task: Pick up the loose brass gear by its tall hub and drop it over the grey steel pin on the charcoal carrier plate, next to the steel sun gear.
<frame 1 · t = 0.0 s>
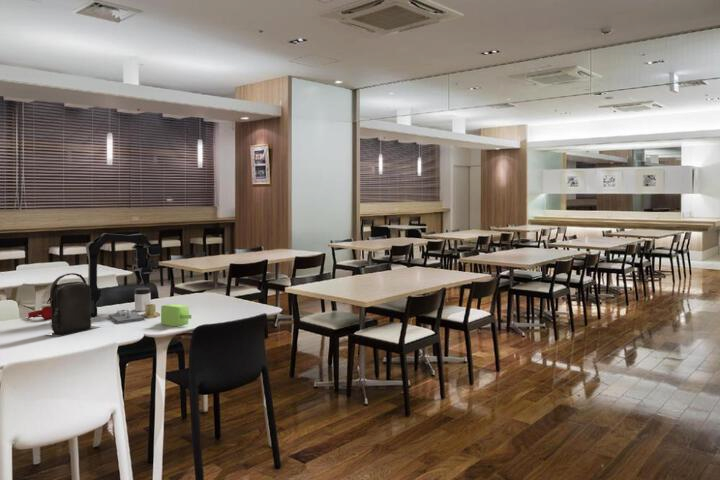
hand: (142, 283, 323), 15 cm above the table, fingers open, 9 cm apart
gearbox: (177, 324, 289), on the table
jar: (143, 310, 324), on the table
shoulder bag: (73, 331, 275), on the table
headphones: (47, 317, 308), on the table
carrier plate: (126, 318, 301), on the table
brass gear: (150, 316, 307), on the table
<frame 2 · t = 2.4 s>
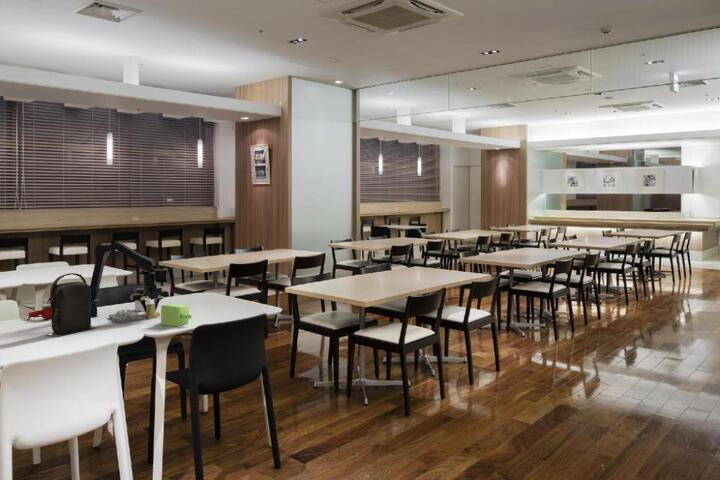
hand: (150, 311, 307), 3 cm above the table, fingers closed on brass gear, 5 cm apart
brass gear: (150, 316, 307), on the table, touching gripper
everything else where it was.
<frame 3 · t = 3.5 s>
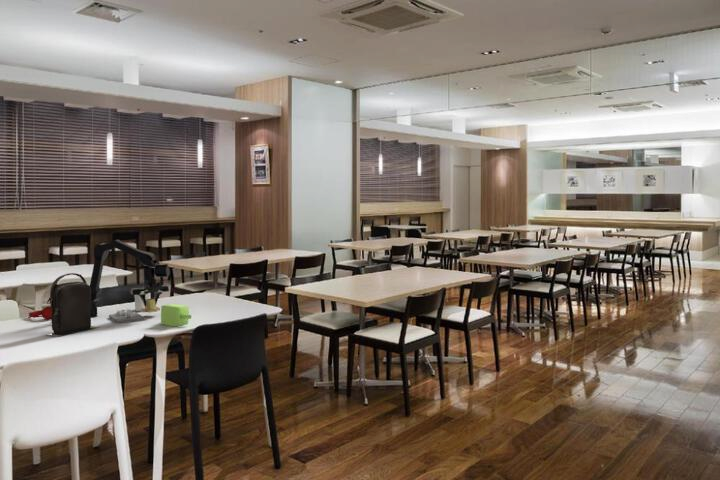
hand: (150, 305, 307), 6 cm above the table, fingers closed on brass gear, 5 cm apart
brass gear: (150, 310, 307), point 3 cm above the table, touching gripper
everything else where it was.
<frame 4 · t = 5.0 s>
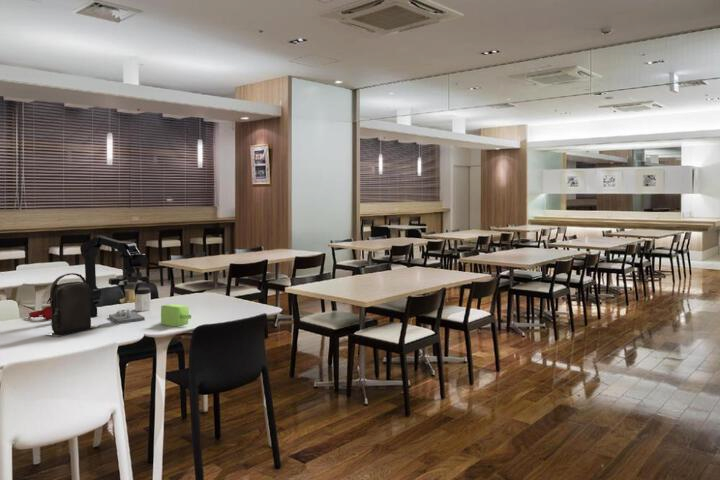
hand: (129, 296, 297), 12 cm above the table, fingers closed on brass gear, 5 cm apart
brass gear: (129, 301, 298), point 10 cm above the table, touching gripper
everything else where it was.
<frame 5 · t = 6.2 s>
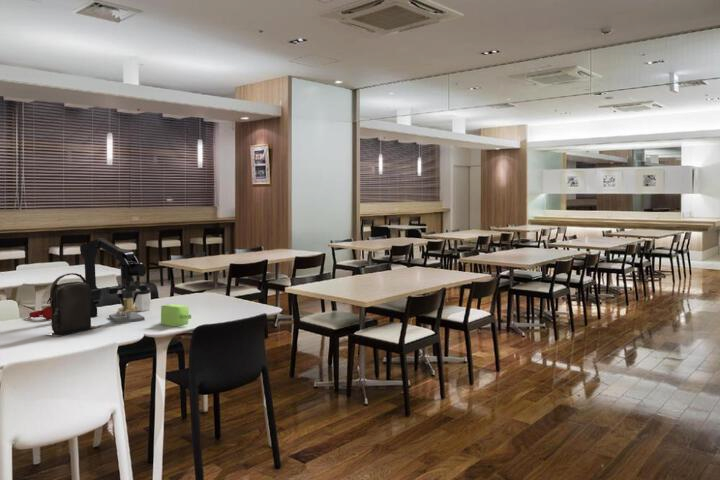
hand: (128, 305, 297), 8 cm above the table, fingers closed on brass gear, 5 cm apart
brass gear: (128, 310, 297), point 5 cm above the table, touching gripper
everything else where it was.
when the fingers open (5 cm above the table, at t = 7.2 s): brass gear stays where it is, resting on carrier plate.
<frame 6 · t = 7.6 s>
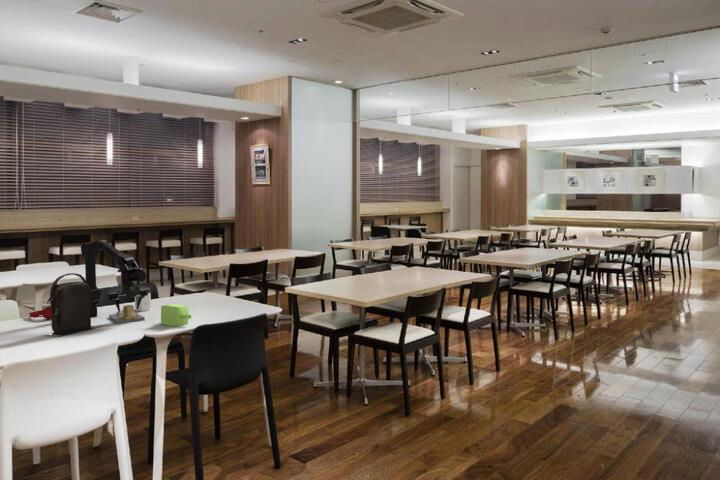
hand: (128, 310, 297), 5 cm above the table, fingers open, 9 cm apart
brass gear: (128, 317, 297), point 1 cm above the table, touching carrier plate
everything else where it was.
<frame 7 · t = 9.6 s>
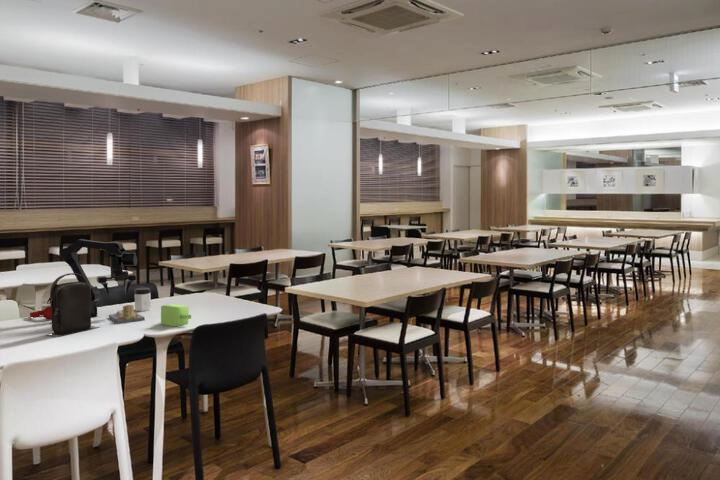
hand: (117, 294, 307), 12 cm above the table, fingers open, 9 cm apart
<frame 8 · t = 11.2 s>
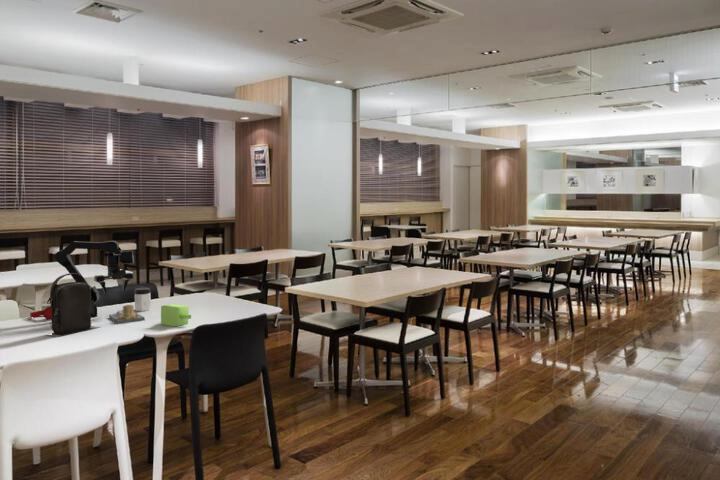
hand: (114, 293, 310), 12 cm above the table, fingers open, 9 cm apart
at the end: brass gear 0.0 cm from the target spot on the carrier plate, point 1.5 cm above the carrier plate's base; brass gear tilted 0°; the gripper is holding nothing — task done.
